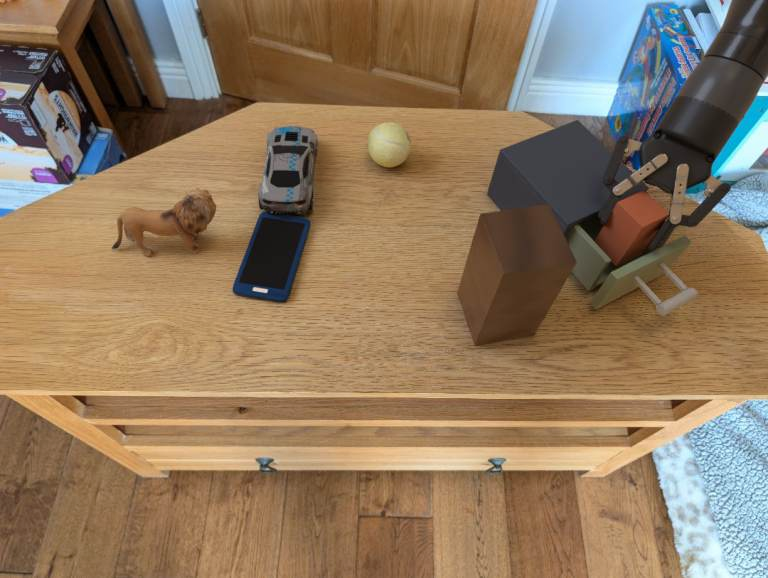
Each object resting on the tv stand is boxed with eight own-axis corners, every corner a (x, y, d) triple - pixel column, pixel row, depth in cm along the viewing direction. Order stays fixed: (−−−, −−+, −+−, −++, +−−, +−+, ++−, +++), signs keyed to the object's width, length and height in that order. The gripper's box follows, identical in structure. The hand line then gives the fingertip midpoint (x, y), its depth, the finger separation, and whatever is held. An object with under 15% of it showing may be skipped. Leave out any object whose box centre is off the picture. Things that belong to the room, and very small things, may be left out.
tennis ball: (409, 178, 84) (413, 144, 79) (365, 176, 84) (366, 142, 79) (408, 148, 88) (412, 114, 82) (366, 146, 88) (367, 112, 82)
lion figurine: (223, 220, 78) (210, 175, 71) (226, 250, 76) (212, 206, 68) (113, 236, 76) (87, 191, 68) (112, 267, 73) (85, 224, 66)
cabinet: (622, 230, 81) (649, 187, 73) (547, 265, 77) (568, 224, 69) (558, 164, 87) (577, 119, 80) (486, 194, 83) (499, 149, 76)
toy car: (318, 139, 88) (317, 113, 84) (313, 221, 79) (311, 197, 74) (271, 138, 88) (267, 112, 84) (259, 220, 78) (254, 195, 74)
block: (641, 254, 73) (670, 214, 66) (615, 266, 72) (642, 227, 65) (618, 230, 75) (644, 189, 68) (593, 242, 74) (617, 201, 67)
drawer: (697, 305, 73) (727, 275, 67) (626, 345, 69) (651, 317, 64) (599, 205, 82) (619, 171, 76) (532, 236, 78) (546, 202, 72)
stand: (513, 283, 75) (549, 204, 61) (534, 335, 71) (577, 262, 57) (456, 292, 74) (480, 213, 60) (474, 345, 70) (503, 273, 56)
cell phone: (231, 294, 72) (230, 291, 71) (261, 213, 79) (261, 209, 79) (287, 304, 71) (286, 301, 71) (312, 221, 79) (311, 217, 78)
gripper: (650, 74, 63) (570, 208, 67) (779, 129, 59) (684, 268, 63) (647, 90, 70) (574, 210, 74) (762, 140, 66) (678, 264, 70)
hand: (625, 236), depth 69 cm, fingers closed on block, 5 cm apart
